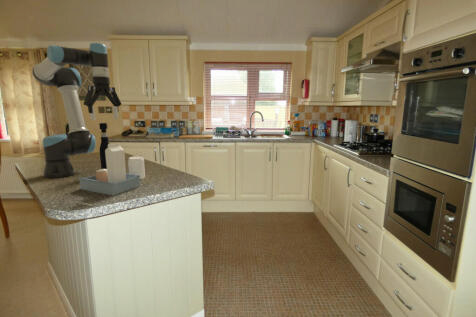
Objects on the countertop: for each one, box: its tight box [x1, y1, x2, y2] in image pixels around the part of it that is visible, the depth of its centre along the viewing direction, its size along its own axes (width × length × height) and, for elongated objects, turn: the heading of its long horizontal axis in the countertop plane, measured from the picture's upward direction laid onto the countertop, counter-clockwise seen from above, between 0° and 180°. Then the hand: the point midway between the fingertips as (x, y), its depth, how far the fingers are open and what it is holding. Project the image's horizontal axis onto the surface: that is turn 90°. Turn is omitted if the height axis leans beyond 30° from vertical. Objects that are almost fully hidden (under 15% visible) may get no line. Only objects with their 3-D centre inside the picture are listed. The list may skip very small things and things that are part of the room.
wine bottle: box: [98, 122, 110, 169], centre depth 156 cm, size 6×6×30 cm
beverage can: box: [127, 155, 146, 180], centre depth 149 cm, size 8×8×12 cm
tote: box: [78, 172, 141, 197], centre depth 132 cm, size 22×16×6 cm
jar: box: [94, 168, 108, 182], centre depth 135 cm, size 6×6×8 cm
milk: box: [105, 142, 127, 183], centre depth 128 cm, size 6×6×22 cm
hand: (105, 119), depth 140 cm, fingers open, 13 cm apart
